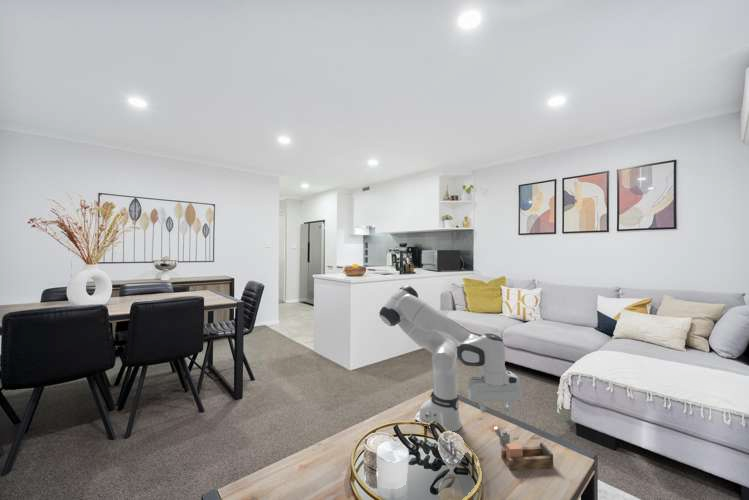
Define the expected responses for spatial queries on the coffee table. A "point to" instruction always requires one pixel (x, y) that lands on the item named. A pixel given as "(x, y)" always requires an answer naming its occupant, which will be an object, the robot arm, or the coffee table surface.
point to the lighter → (502, 436)
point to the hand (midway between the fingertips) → (495, 411)
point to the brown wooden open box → (530, 459)
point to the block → (513, 450)
